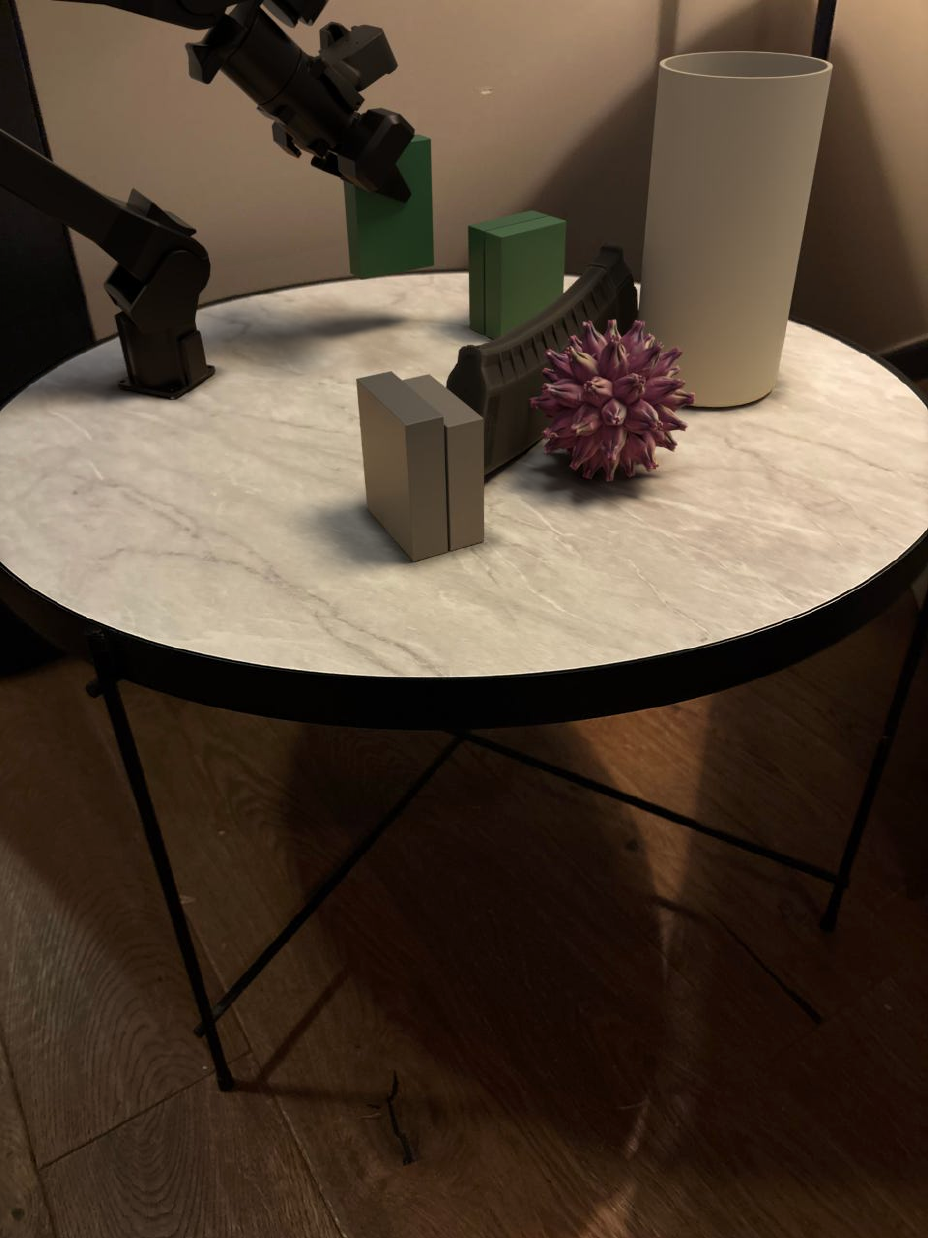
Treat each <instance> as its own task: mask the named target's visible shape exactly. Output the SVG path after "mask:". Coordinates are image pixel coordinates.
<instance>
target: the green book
mask: <svg viewBox="0 0 928 1238" xmlns="http://www.w3.org/2000/svg"><path fill="white" fill-rule="evenodd" d="M432 163H433V162H432V139H431V138H430V137H427V136H424V135H421V134H420V133H417V134H416V133H415V134H414V138H413V139H412V140H411V142H410V143H409V145H408V146H407V148H406V149H405V151H404V152H403V154H402V155H401V156H400V158H399V159H398V161H397V162H396V165H397V167H398V169H399V171H400V172H401V174H402V176H403V178H404V180H405V182H406V183H407V185H408V187H409V189H410V191H411V193H412V195H411V197H410V198H409V200H408V201H407V202H406V203H403V202H400V201H397V200H394V199H391V198H389V197H386V196H383V195H380V194H377V193H374V192H372V193H370V192H368V191H366V190H364V189H362V188H360V187H357V186H354V185H351V184H349V183H347V182H345V181H343V180H342V183H343V194H344V206H345V221H346V235H347V248H348V261H349V273H350V274H351V275H353V276H354V277H355V278H358V279H359V280H360V281H362V280H367V279H372V278H378V277H384V276H389V275H393V274H399V273H403V272H404V273H405V272H409V271H414V270H419V269H424V268H429V267H435V244H434V205H433V203H434V202H433V200H434V199H433V166H432V165H433V164H432Z"/></svg>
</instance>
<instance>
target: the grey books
mask: <svg viewBox="0 0 928 1238" xmlns="http://www.w3.org/2000/svg"><path fill="white" fill-rule="evenodd" d="M355 383H356V393H357V395H356V396H357V405H358V416H359V417H358V418H359V428H360V441H361V451H362V463H363V474H364V487H365V498H366V509H367V510H368V511H369V513H371V515H372V516H373V517H374V518H375V520H377V522H378V523H379V524H380V525H381V527H382V528H383V529H384V530H385V531H386V532H387V533H388V534H389V536H390V537H391V538H392V539H393V540H394V541H395V542H396V544H397V545H398V546H399V547H400V548H401V550H402V551H403V552H404V553H405V554H406V555H407V557H408V558H409V559H410V560H411V561H412V562H413V563H414V562H418V561H421V560H424V559H428V558H431V557H436V556H439V555H441V554H445V553H448V552H449V551H456V550H459V549H462V548H466V547H469V546H473V545H477V544H479V543H483V542H485V475H484V425H483V418H482V417H481V416H480V415H479V414H477V413H476V412H475V411H474V410H473V409H471V408H470V407H469V406H468V405H466V404H465V403H464V402H463V401H462V400H460V399H459V398H458V397H457V396H455V395H454V394H453V393H452V392H451V391H449V390H448V389H447V388H446V386H444V385H443V384H442V383H441V382H439V381H438V380H437V379H436V378H435V377H434V376H432V375H431V374H430V373H428V374H424V375H419V376H415V377H410V378H406V379H405V378H404V379H401V378H400V377H399V376H398V375H397V374H396V373H394V372H393V371H391V370H390V371H386V372H385V371H384V372H381V373H376V374H372V375H368V376H367V375H366V376H363V377H362V376H361V377H358V378H356V379H355Z"/></svg>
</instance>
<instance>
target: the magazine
mask: <svg viewBox="0 0 928 1238" xmlns="http://www.w3.org/2000/svg"><path fill="white" fill-rule="evenodd" d="M632 271H633V270H632V269H631V268H630V266H628V264H627V263H626V259H625V255H624V248H623V246H622V245H620V244H617V243H609V242H604V243H603V244H602V245H601V247H600V248H599V252H598V255H597V257H596V258H595V259H593V260H592V261H591V262H590V263H589V264H588V265H587V268H586V270H585V271H584V272H582V274H581V275H580V276H579V277H578V278H577V279H576V280H575V281H574V282H573V283H572V284H571V285H570V286H569V287H568V288H567V289H566V290H565V291H563V294H562V295H561V296H560V297H559V298H557V299H556V300H555V301H554V302H553V303H551V304H550V305H549V306H548V307H547V308H545V309H544V310H543V311H541V312H540V313H539V314H537V315H536V316H534V317H533V318H531V319H529V320H528V321H526V322H524V323H523V324H521V325H519V326H518V327H516V328H514V329H513V330H511V331H510V332H508V333H507V334H505V335H503V336H501V337H499V338H497V339H495V340H494V339H492V340H490V341H487V342H485V343H482V344H478V345H474V344H466V345H463V346H462V347H460V348H459V350H458V353H457V354H458V355H457V361H456V364H455V365H454V367H453V368H452V370H451V371H450V373H449V374H448V376H447V379H446V382H445V383H446V384H445V387H446V388H447V389H448V390H449V391H451V392H452V393H453V394H454V395H455V396H457V397H458V398H459V399H460V400H462V401H463V402H464V403H465V404H466V405H468V406H469V407H470V408H471V409H473V410H474V411H475V412H476V413H477V414H479V415H480V416H481V417H482V418H483V425H484V476H487V475H488V474H489V473H491V472H492V471H494V470H496V469H497V468H499V467H501V466H503V465H505V464H506V463H507V462H509V461H511V460H512V459H514V458H515V457H517V456H519V455H520V454H522V453H523V452H524V451H526V450H527V449H529V448H530V447H532V446H533V445H534V444H537V442H538V441H540V440H542V438H544V437H543V433H542V431H544V430H545V429H547V428H548V427H549V426H550V425H551V423H552V421H553V419H554V418H546V416H545V412H543V411H542V410H540V409H537V408H531V407H530V406H531V404H530V403H531V402H530V401H529V399H530V398H535V397H539V396H541V395H542V394H544V392H543V388H542V387H543V386H544V384H552V383H551V382H550V381H549V379H547V378H546V377H544V376H542V371H543V370H544V368H547V369H550V370H553V368H552V366H551V363H550V362H549V361H548V360H547V359H546V358H545V357H544V355H543V354H544V353H546V351H547V350H548V349H550V350H552V351H554V352H555V353H559V354H566V353H565V351H566V348H568V347H570V343H569V341H568V339H570V337H571V336H574V335H575V336H576V337H577V338H578V340H579V341H581V342H582V341H583V335H584V331H583V322H587V323H588V321H591V322H592V324H593V327H594V329H595V330H596V331H597V332H598V333H600V334H601V335H602V336H604V334H605V332H606V330H607V327H608V321H609V320H610V321H611V320H614V319H615V320H616V326H617V331H618V333H619V335H620V336H621V338H622V337H623V336H624V335H625V334H626V333H627V332H628V331H629V330H630V329H631V328H632V326H633V324H634V322H635V320H637V319H638V307H639V296H638V295H639V294H638V289H637V286H635V281H634V276H633V274H632Z"/></svg>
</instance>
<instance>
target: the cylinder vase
mask: <svg viewBox="0 0 928 1238" xmlns="http://www.w3.org/2000/svg"><path fill="white" fill-rule="evenodd" d="M658 67H659V68H658V80H657V88H656V89H657V90H656V102H655V114H654V125H653V126H654V127H653V136H652V148H651V161H650V171H649V182H648V195H647V206H646V216H645V217H646V218H645V229H644V242H643V250H642V251H643V252H642V263H641V273H640V286H639V296H638V319H637V321H640V322H642V321H645V326H644V329H643V338H644V337H645V336H646V335H647V334H650V335H653V337H654V338H655V339H654V341H653V343H652V346H654V345H655V344H656V343H657V342H661V343H662V345H664V348H663V349H662V350H661V352H660V353H665V352H669V351H671V350H672V349H674V348H676V347H679V351H681V350H683V353H682V355H681V356H680V357H679V358H678V359H677V360H676V361H675V362H674V364H673V365H672V367H674V366H676V365H678V366H679V368H680V372H679V373H678V374H676V375H675V376H674V377H673V379H674V380H675V379H682V380H683V381H685V383H686V384H685V385H684V387H683V388H681V389H680V390H682V391H684V392H689V393H695V396H694V398H695V401H694V402H695V403H694V404H690V405H689V406H692V407H697V408H698V407H699V408H728V407H736V406H741V405H746V404H749V403H752V402H755V401H757V400H760V399H761V398H763V397H765V396H767V395H768V394H769V393H770V392H772V390H773V389H774V387H775V386H776V384H777V382H778V377H779V372H780V365H781V360H782V354H783V348H784V344H785V338H786V332H787V328H788V327H787V326H788V320H789V315H790V310H791V304H792V298H793V292H794V286H795V282H796V275H797V270H798V266H799V265H798V264H799V259H800V253H801V247H802V241H803V236H804V231H805V225H806V219H807V214H808V207H809V204H810V203H809V202H810V196H811V190H812V185H813V180H814V174H815V170H816V169H815V168H816V164H817V158H818V151H819V147H820V140H821V135H822V131H823V124H824V117H825V114H826V113H825V112H826V106H827V100H828V96H829V91H830V90H829V89H830V84H831V78H832V73H833V67H834V66H833V64H832V63H831V62H830V61H827V60H824V59H822V58H819V57H818V58H817V57H812V56H809V55H808V56H806V55H802V54H795V53H794V54H792V53H785V52H784V53H782V52H769V51H768V52H767V51H742V50H741V51H739V50H738V51H708V52H706V51H705V52H694V53H686V54H685V53H684V54H680V55H674V56H669V57H667V58H664V59H662V60H661V61H660V62H659V66H658Z"/></svg>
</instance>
